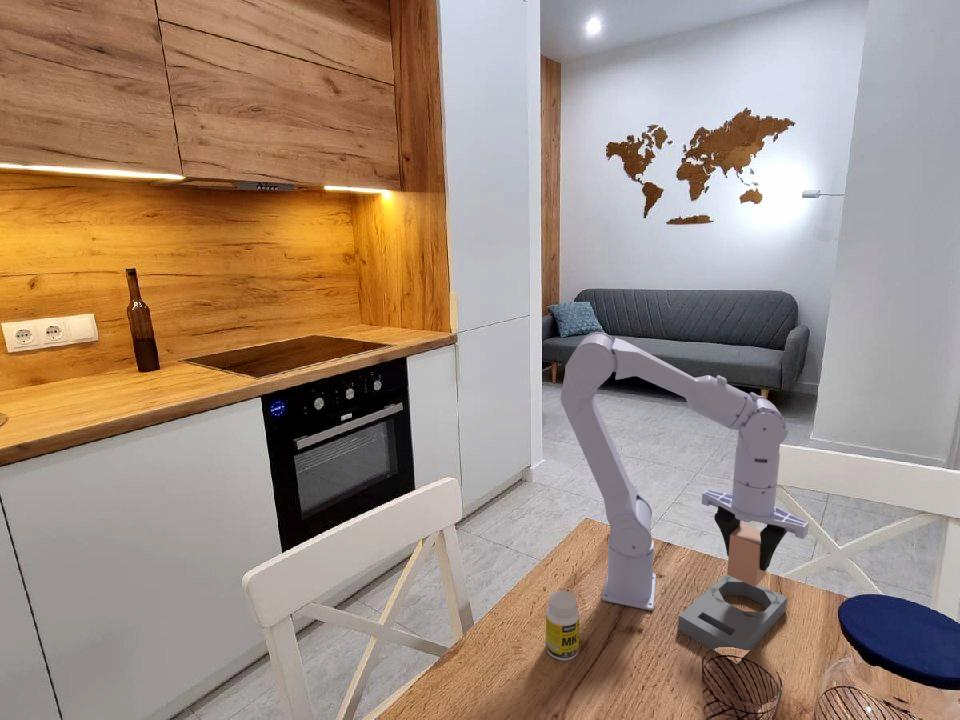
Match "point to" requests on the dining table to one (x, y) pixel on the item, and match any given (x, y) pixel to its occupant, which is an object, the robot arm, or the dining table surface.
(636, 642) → the dining table surface
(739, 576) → the peg
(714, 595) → the socket board
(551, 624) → the supplement bottle
